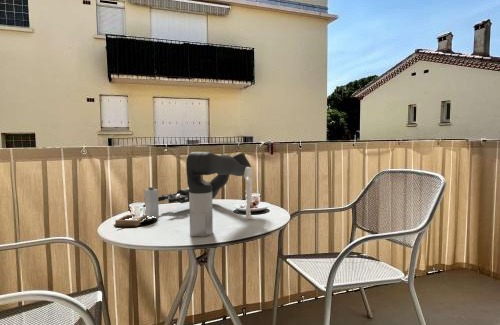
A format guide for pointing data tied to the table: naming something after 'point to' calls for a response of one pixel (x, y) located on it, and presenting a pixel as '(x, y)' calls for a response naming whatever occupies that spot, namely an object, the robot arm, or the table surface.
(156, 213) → the grey rectangular block
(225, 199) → the table surface
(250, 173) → the character figure
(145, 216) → the tray
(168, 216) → the table surface
